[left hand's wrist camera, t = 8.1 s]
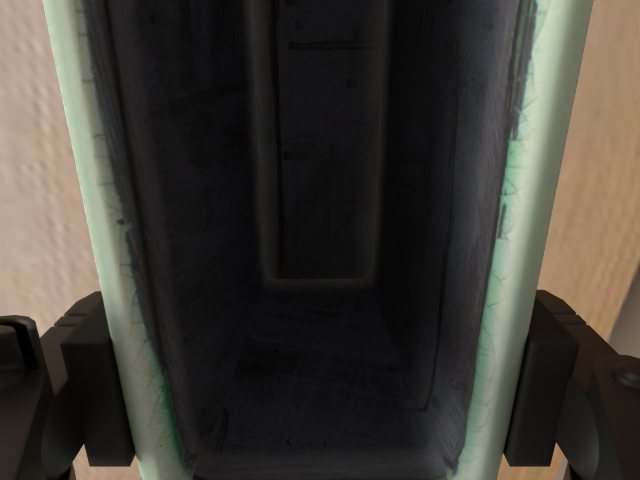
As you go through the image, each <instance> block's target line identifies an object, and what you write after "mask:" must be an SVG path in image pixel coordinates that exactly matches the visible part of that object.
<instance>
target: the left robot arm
mask: <svg viewBox="0 0 640 480" xmlns="http://www.w3.org/2000/svg"><path fill="white" fill-rule="evenodd" d="M556 442H557V444H558V445H559V447H560V449H561V450H562V452H563V453H564V455H565V457H566V458H567V460H568V463H567V467H566V470H565V474H564V478H563V480H640V358H636V357H632V356H628V355H619V354H618V353H617V352H616V351H615V350H614V349H613V348H612V347H611V346H610V345H609V344H608V343H607V342H606V341H604V340H603V339H602V338H601V337H600V336H599V335H598V334H597V333H596V332H595V331H594V330H593V329H592V328H591V327H590V326H589V325H586V322H585V321H584V320H583V319H582V318H581V317H580V316H579V315H576V312H575V311H574V310H573V309H572V308H571V307H570V306H569V305H568V304H567V303H566V302H565V301H564V300H562V299H560V298H558V297H556V296H555V295H553V294H551V293H549V292H547V291H545V290H536V295H535V300H534V305H533V310H532V315H531V321H530V326H529V331H528V335H527V340H526V345H525V350H524V355H523V360H522V365H521V370H520V375H519V380H518V385H517V389H516V394H515V399H514V404H513V409H512V414H511V419H510V424H509V429H508V434H507V439H506V443H505V447H504V451H503V453H504V455H505V457H506V459H507V461H508V464H509V466H550V464H551V460H552V456H553V452H554V448H555V444H556ZM83 444H84V445H85V449H86V453H87V457H88V461H89V465H90V466H130V465H131V463H132V461H133V459H134V457H135V454H136V453H135V449H134V445H133V441H132V436H131V431H130V427H129V422H128V417H127V412H126V407H125V403H124V398H123V393H122V388H121V383H120V379H119V374H118V369H117V364H116V359H115V355H114V350H113V345H112V340H111V335H110V331H109V326H108V321H107V316H106V311H105V306H104V301H103V296H102V291H96V292H94V293H92V294H90V295H88V296H87V297H85V298H83V299H81V300H79V301H77V302H76V303H75V304H74V305H73V306H72V307H71V308H70V309H69V310H68V311H67V312H66V313H65V314H64V317H61V318H60V319H59V320H58V321H57V322H56V323H55V324H54V327H51V328H50V329H49V330H48V331H47V332H46V333H45V334H44V335H43V336H42V337H41V338H39V334H38V330H37V326H36V323H35V321H34V320H32V319H31V318H29V317H26V316H19V315H11V316H0V480H76V476H75V470H74V467H73V463H72V462H73V460H74V459H75V457H76V455H77V454H78V452H79V451H80V449H81V447H82V446H83Z"/></svg>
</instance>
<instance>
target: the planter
mask: <svg viewBox="0 0 640 480" xmlns="http://www.w3.org/2000/svg"><path fill="white" fill-rule="evenodd" d="M43 5H44V10H45V15H46V20H47V25H48V30H49V35H50V40H51V45H52V50H53V55H54V60H55V65H56V70H57V75H58V80H59V85H60V89H61V94H62V99H63V104H64V109H65V114H66V119H67V124H68V129H69V134H70V139H71V144H72V149H73V154H74V158H75V163H76V168H77V173H78V178H79V183H80V188H81V193H82V198H83V203H84V208H85V213H86V218H87V222H88V227H89V232H90V237H91V242H92V247H93V252H94V257H95V262H96V267H97V272H98V277H99V282H100V286H101V291H102V296H103V301H104V306H105V311H106V316H107V321H108V326H109V331H110V335H111V340H112V345H113V350H114V355H115V359H116V364H117V369H118V374H119V379H120V383H121V388H122V393H123V398H124V403H125V407H126V412H127V417H128V422H129V427H130V431H131V436H132V441H133V445H134V449H135V453H136V457H137V461H138V465H139V469H140V473H141V477H142V480H497V476H498V472H499V468H500V463H501V459H502V455H503V451H504V447H505V443H506V439H507V434H508V429H509V424H510V419H511V414H512V409H513V404H514V399H515V394H516V389H517V385H518V380H519V375H520V370H521V365H522V360H523V355H524V350H525V345H526V340H527V335H528V331H529V326H530V321H531V315H532V310H533V305H534V300H535V295H536V290H537V285H538V280H539V275H540V270H541V265H542V260H543V254H544V249H545V244H546V239H547V234H548V229H549V224H550V219H551V214H552V209H553V204H554V199H555V193H556V188H557V183H558V178H559V173H560V168H561V163H562V158H563V153H564V148H565V143H566V138H567V133H568V127H569V122H570V117H571V112H572V107H573V102H574V97H575V92H576V87H577V82H578V77H579V72H580V66H581V61H582V56H583V51H584V46H585V41H586V36H587V31H588V25H589V20H590V15H591V10H592V5H593V0H43Z"/></svg>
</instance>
